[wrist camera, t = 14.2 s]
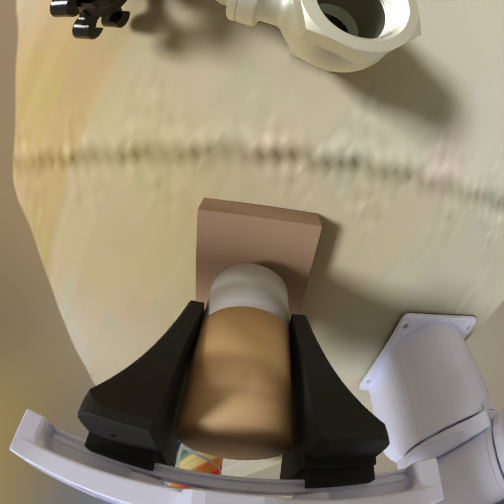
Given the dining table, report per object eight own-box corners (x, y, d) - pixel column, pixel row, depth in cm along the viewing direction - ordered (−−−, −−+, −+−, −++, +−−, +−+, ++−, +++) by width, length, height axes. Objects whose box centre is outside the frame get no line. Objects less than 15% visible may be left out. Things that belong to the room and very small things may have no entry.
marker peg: (280, 326, 16) (279, 462, 9) (209, 317, 16) (179, 451, 9) (295, 269, 14) (307, 426, 7) (212, 258, 14) (167, 410, 7)
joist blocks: (289, 322, 19) (289, 338, 18) (200, 310, 19) (196, 326, 18) (360, -135, 2) (365, -145, 1) (260, -150, 2) (259, -161, 1)
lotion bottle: (203, 420, 29) (178, 577, 12) (235, 437, 31) (219, 578, 14) (171, 426, 31) (143, 564, 14) (202, 442, 33) (183, 569, 16)
